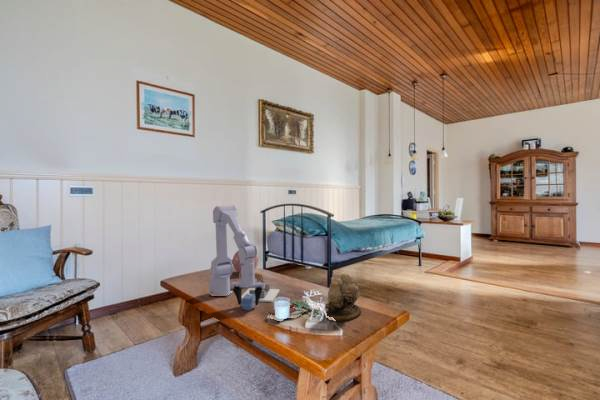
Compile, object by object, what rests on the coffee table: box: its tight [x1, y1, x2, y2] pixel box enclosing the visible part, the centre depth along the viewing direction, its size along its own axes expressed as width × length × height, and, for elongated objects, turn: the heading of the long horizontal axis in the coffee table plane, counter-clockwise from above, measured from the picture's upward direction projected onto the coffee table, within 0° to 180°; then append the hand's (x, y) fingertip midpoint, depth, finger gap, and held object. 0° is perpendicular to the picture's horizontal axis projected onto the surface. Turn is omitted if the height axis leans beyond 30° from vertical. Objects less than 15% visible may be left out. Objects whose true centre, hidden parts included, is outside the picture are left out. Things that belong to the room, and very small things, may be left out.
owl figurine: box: [324, 272, 362, 323], centre depth 122 cm, size 18×12×17 cm, turn 131°
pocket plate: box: [241, 283, 280, 303], centre depth 146 cm, size 16×16×4 cm
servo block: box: [239, 294, 256, 311], centre depth 131 cm, size 4×12×5 cm, turn 172°
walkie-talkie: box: [268, 302, 303, 316], centre depth 123 cm, size 9×4×20 cm
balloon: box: [231, 249, 258, 274], centre depth 185 cm, size 15×20×15 cm
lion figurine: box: [238, 271, 266, 284], centre depth 162 cm, size 15×5×9 cm, turn 122°
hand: (248, 304), depth 131 cm, fingers open, 7 cm apart
